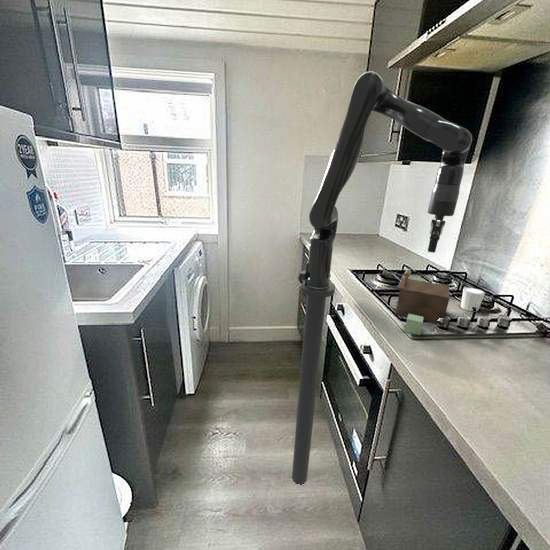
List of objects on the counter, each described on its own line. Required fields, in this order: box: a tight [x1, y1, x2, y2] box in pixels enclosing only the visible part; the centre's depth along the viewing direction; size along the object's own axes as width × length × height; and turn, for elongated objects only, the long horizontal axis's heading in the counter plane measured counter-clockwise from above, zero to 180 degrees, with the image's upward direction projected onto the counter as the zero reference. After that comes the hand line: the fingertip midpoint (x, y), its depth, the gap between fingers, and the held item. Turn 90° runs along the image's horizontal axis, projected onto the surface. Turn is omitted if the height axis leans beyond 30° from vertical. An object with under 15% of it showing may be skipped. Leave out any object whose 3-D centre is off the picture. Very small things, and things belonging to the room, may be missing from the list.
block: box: [404, 314, 424, 336], centre depth 93 cm, size 4×4×4 cm
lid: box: [396, 268, 450, 301], centre depth 103 cm, size 16×13×5 cm
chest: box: [395, 290, 450, 326], centre depth 105 cm, size 15×13×9 cm
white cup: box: [460, 287, 486, 312], centre depth 111 cm, size 7×7×7 cm
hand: (431, 249), depth 100 cm, fingers open, 8 cm apart
